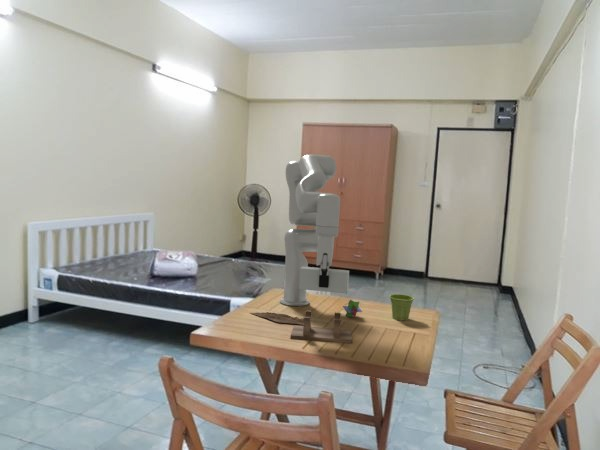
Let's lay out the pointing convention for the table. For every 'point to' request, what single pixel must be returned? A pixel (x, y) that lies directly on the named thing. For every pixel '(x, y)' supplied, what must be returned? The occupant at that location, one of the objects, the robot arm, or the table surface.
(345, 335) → the wooden display stand
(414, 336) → the table surface
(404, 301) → the plant pot
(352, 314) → the geometric puzzle
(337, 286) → the clay bar
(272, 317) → the wooden fragment
